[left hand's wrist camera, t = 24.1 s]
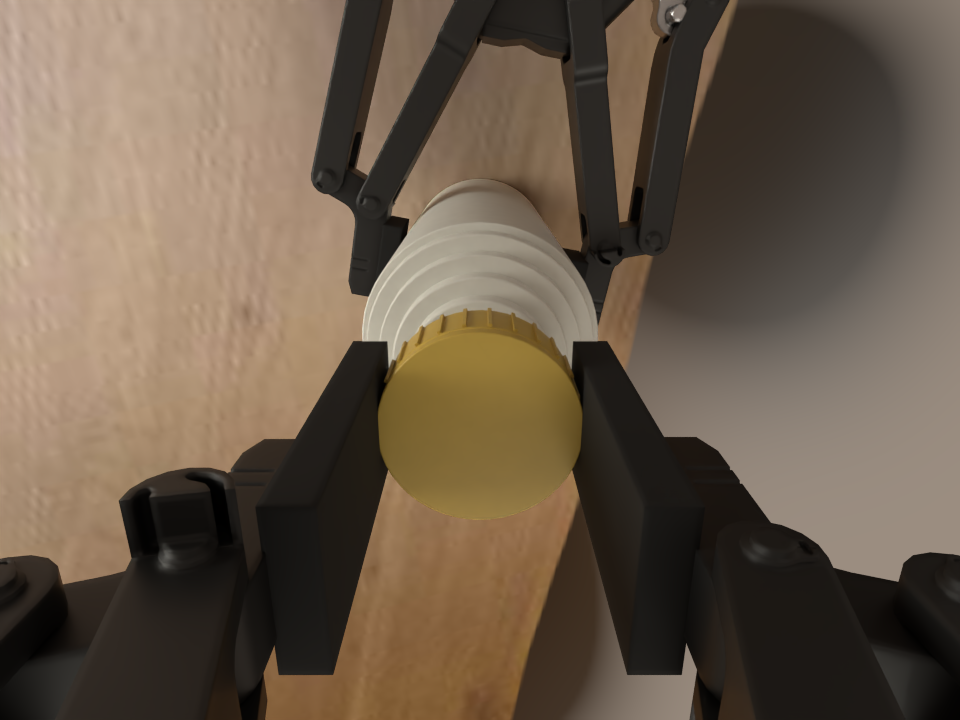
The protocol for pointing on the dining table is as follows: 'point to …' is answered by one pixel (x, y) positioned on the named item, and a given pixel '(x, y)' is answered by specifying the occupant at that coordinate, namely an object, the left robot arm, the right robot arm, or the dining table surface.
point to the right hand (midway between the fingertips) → (459, 381)
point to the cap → (480, 415)
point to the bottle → (480, 270)
